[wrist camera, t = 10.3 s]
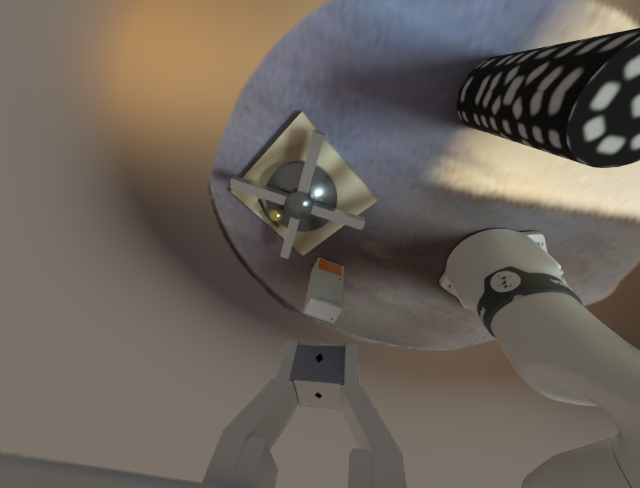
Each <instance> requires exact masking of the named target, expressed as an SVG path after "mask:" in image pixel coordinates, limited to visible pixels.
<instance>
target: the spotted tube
mask: <svg viewBox="0 0 640 488" xmlns="http://www.w3.org/2000/svg"><path fill="white" fill-rule="evenodd" d="M457 111H458V114H459V117H460V119H461V120H462V121H463V122H464V124H466V125H467V126H469V127H471V128H474V129H478V130H481V131H484V132H487V133H490V134H493V135H496V136H499V137H502V138H505V139H508V140H511V141H514V142H517V143H521V144H524V145H527V146H530V147H533V148H536V149H539V150H542V151H545V152H548V153H551V154H554V155H557V156H561V157H564V158H567V159H570V160H573V161H576V162H579V163H582V164H585V165H588V166H592V167H598V168H610V167H619V166H623V165H627V164H631V163H634V162H637V161H639V160H640V28H637V29H632V30H627V31H622V32H617V33H612V34H607V35H602V36H597V37H592V38H587V39H582V40H577V41H572V42H567V43H562V44H557V45H552V46H547V47H542V48H537V49H532V50H527V51H522V52H517V53H512V54H507V55H502V56H497V57H493V58H491V59H488V60H486V61H485V62H483V63H481V64H480V65H478V66H477V67H476V68H475V69H474V70H473V71H472V72H471V73H470V74H469V75H468V77H467V78H466V79H465V81H464V82H463V84H462V87H461V89H460V91H459V95H458V99H457Z"/></svg>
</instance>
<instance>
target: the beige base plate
mask: <svg viewBox="0 0 640 488" xmlns="http://www.w3.org/2000/svg"><path fill="white" fill-rule="evenodd" d="M314 130H316V131H319V130H318V129H317V127H316V126H315V125H314V124H313V123H312V121H311V120H310V119H309V118H308V117H307V116H306V114H305V113H304V112H303V111H302V112H301V113H300V114H299V115H298V116H297V118H296V119H295V120H294V121H293V122H292V123H291V124H290V125H289V127H288V128H287V129H286V130H285V131H284V132H283V133H282V134H281V135H280V137H279V138H278V139H277V140H276V141H275V142H274V143H273V144H272V146H271V147H270V148H269V149H268V150H267V151H266V152H265V153H264V155H263V156H262V157H261V158H260V159H259V160H258V161H257V162H256V164H255V165H254V166H253V167H252V168H251V169H250V170H249V171H248V172H247V174H246V175H245V176H244V177H243V179H246V180H249V181H252V182H255V183H258V184H261V185H264V186H266V185H267V183H268V180H269V179H270V177H271V176H272V175H273V173H274V172H275V171H276V170H277V169H278V168H279V167H281V166H282V165H284V164H286V163H289V162H292V161H305V160H306V157H307V153H308V149H309V145H310V142H311V138H312V134H313V131H314ZM319 132H320V131H319ZM316 165H318V166H320V167H321V168H323V169H324V170H325V171H326V172H327V173H328V174H329V175H330V176H331V178H332V179H333V181H334V183H335V186H336V189H337V206H336V209H339V210H342V211H345V212H348V213H351V214H354V215H359V214H360V213H361V212H363V211H364V210H365V209H367V208H368V207H370V206H371V205H372V204H374V203H375V202H376V201H377V198H376V197H375V196H374V194H373V193H372V192H371V191H370V190H369V189H368V187H367V186H366V185H365V184H364V183H363V181H362V180H361V179H360V178H359V177H358V176H357V174H356V173H355V172H354V171H353V170H352V169H351V167H350V166H349V165H348V164H347V163H346V161H345V160H344V159H343V158H342V157H341V156H340V154H339V153H338V152H337V151H336V150H335V149H334V147H333V146H332V145H331V144H330V143H329V141H328V140H327V139H326V138H325V137H324V140H323V144H322V147H321V150H320V154H319V157H318V161H317V164H316ZM231 193H233V194H234V195H235V196H236V197H237V198H238V199H239V200H241V201H242V202H243V203H244V204H245V205H246V206H247V207H248V208H250V209H251V210H252V211H253V212H254V213H255V214H256V215H257V216H259V217H260V218H261V219H262V220H263V221H264V222H265V223H267V224H268V225H269V226H270V227H271V228H272V229H273V230H274V231H276V232H277V233H278V234H279V235H280V236H281V237H282V238H283V239H285V235H286V232H287V228H286V227H284V226H283V225H281V224H280V223H279V222H275V221H272V220H271V219H270V217H269V210H268V207H267V205H266V200H265V199H262V198H259V197H256V196H253V195H250V194H247V193H243V192H240V191H237V190H234V189H232V190H231ZM343 226H344V224H341V223H338V222H334V221H331V220H330V221H329V222H328V223H327V224H326V225H324V226H323V227H321V228H319V229H317V230H314V231H309V232H299V231H297V232H296V235H295V239H294V242H293V245H292V246H293V247H294V248H295V249H296V250H297V251H298V252H299V253H300V254H302V255H303V256H304V255H305V254H306V253H308V252H309V251H311V250H312V249H313V248H315V247H316V246H317V245H319V244H320V243H321V242H323V241H324V240H325V239H327V238H328V237H329V236H331V235H332V234H333V233H335V232H336V231H337V230H339V229H340V228H341V227H343Z"/></svg>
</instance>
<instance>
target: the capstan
mask: <svg viewBox="0 0 640 488" xmlns="http://www.w3.org/2000/svg"><path fill="white" fill-rule="evenodd" d="M324 137H325V133H322V132H319V131H316V130H314V131H313V134H312V138H311V142H310V145H309V149H308V153H307V157H306V160H305V161H292V162H289V163H286V164H284V165H282V166H281V167H279V168H278V169H277V170H276V171H275V172H274V173H273V175H272V176H271V177H270V179H269V180H268V183H267V185H266V186H264V185H261V184H258V183H255V182H252V181H249V180H246V179H243V178H240V177H237V176H233V177H232V178H231V182H230V188H231V189H234V190H237V191H240V192H243V193H247V194H250V195H253V196H256V197H259V198H262V199H265V200H266V205H267V207H268V210H269V217H270V219H271V220H272V221H275V222H279V223H280V224H281V225H283V226H284V227H286V228H287V232H286V235H285V239H284V243H283V247H282V250H281V254H280V257H283V258H286V259H288V258H289V255H290V252H291V249H292V245H293V242H294V239H295V235H296V232H297V231H299V232H309V231H314V230H317V229H319V228H321V227H323V226H324V225H326V224H327V223H328V222H329V221H330V220H331V221H334V222H338V223H341V224H344V225H347V226H350V227H353V228H356V229H360V230H362V229H363V227H364V225H365V223H366V220H365V218H363V217H360V216H357V215H354V214H351V213H348V212H345V211H342V210H339V209H336V206H337V189H336V186H335V183H334V181H333V179H332V178H331V176H330V175H329V174H328V173H327V172H326V171H325V170H324V169H323V168H321V167H320V166H318V165H316V164H317V161H318V157H319V154H320V150H321V147H322V144H323V140H324Z"/></svg>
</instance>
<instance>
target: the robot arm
mask: <svg viewBox="0 0 640 488" xmlns="http://www.w3.org/2000/svg"><path fill="white" fill-rule="evenodd" d="M560 268H561V266H560V265H559V264H558V263H557V262H556V261H555V260H554V259H553V258H552V257H551V256H550V255H549V254H548V253H547V249H546V244H545V238H544V236H543V235H542V234H541V233H540V232H538V231H529V232H517V231H513V230H509V229H490V230H486V231H482V232H479V233H476V234H474V235H472V236H470V237H468V238H466V239H465V240H463V241H462V242H461V243H460V244H458V245H457V246H456V247H455V248H454V250H453V251H452V252H451V254H450V255H449V257H448V260H447V263H446V270H445V272H444V274H443V275H442V277H441V278H440V280H439V283H440V285H441V286H442V287H443V288H444V289H446V290H447V291H448V292H450V293H451V294H453V295H454V296H456V297H457V298H458V299H459V300H460V302H461V304H462V305H463V307H464V308H465V309H469V310H470V311H471V312H473V313H475V314H476V315H478V316H479V317H480V318H481V321H482V323H483V325H484V326H485V327H486V329H487V330H488V331H489V333H490V334H491V335H492V336H493V337H495V338H496V339H497V341H498V342H499V344H500V346H501V347H502V349H503V351H504V352H505V354H506V356H507V357H508V359H509V361H510V362H511V364H512V366H513V367H514V369H515V371H516V372H517V374H518V376H519V377H520V378H521V379H522V380H523V381H524V382H525V383H526V384H527V385H528V386H529V387H531V388H532V389H533V390H535V391H536V392H538V393H539V394H541V395H543V396H546V397H548V398H551V399H554V400H557V401H561V402H566V403H572V404H580V405H588V406H598V407H600V408H601V409H602V410H603V411H604V412H605V413H606V414H607V415H608V416H609V417H610V418H611V420H612V421H613V422H614V424H615V425H616V427H617V428H618V430H619V433H618V434H616V435H614V436H613V437H611V438H608V439H605V440H602V441H599V442H596V443H592V444H589V445H586V446H583V447H579V448H577V449H573V450H570V451H567V452H564V453H560V454H557V455H555V456H552V457H551V458H550V459H548V460H547V461H545V462H544V463H542V464H541V465H540V466H538V467H537V468H536V469H535V470H533V471H532V472H531V473H530V474H529V475H527V476H526V477H525V478H524V480H523V482H522V487H521V488H640V351H639V350H637V349H636V348H634V347H633V346H631V345H630V344H628V343H627V342H626V341H624V340H623V339H622V338H620V337H619V336H618V335H617V334H615V333H614V332H613V331H611V330H610V329H609V328H608V327H607V326H605V325H604V324H603V323H602V322H600V321H599V320H598V319H597V318H596V317H595V316H593V315H592V314H591V313H590V312H589V311H588V310H586V308H585V307H583V306H582V302H581V300H580V298H579V297H578V296H577V295H576V294H575V293H574V292H573V290H572V289H571V288H570V287H569V286H567V283H566V281H565V279H564V278H563V277H562V276H561V275H563V271H562V270H561V269H560ZM299 406H307V407H321V408H330V409H337V410H342V413H343V415H344V418H345V420H346V422H347V425H348V427H349V429H350V431H351V434H352V436H353V438H354V441H355V443H356V445H357V447H358V449H355V448H353V449H352V450H351V452H350V453H349V477H348V478H349V479H348V481H349V482H348V488H407V487H406V480H405V472H404V464H403V456H402V452H401V450H400V449H399V447H398V445H397V443H396V442H395V440H394V438H393V437H392V435H391V433H390V432H389V430H388V428H387V427H386V425H385V423H384V422H383V420H382V418H381V416H380V415H379V413H378V411H377V410H376V408H375V406H374V405H373V403H372V401H371V400H370V398H369V396H368V394H367V393H366V391H365V389H364V388H363V387H361V386H359V346H358V344H345V343H344V344H343V343H315V342H301V341H287V342H286V344H285V346H284V350H283V354H282V357H281V361H280V364H279V368H278V371H277V375H276V378H275V379H271V380H270V381H269V383H268V384H267V385H266V386H265V387H264V388H263V389H262V390H261V391H260V392H259V393H258V394H257V395H256V396H255V397H254V398H253V399H252V400H251V401H250V402H249V404H248V405H247V406H246V407H245V408H244V409H243V410H242V411H241V412H240V413H239V414H238V415H237V416H236V417H235V418H234V419H233V420H232V422H230V423H229V425H228V426H227V427H226V428H225V429H224V430H223V431H222V433H221V436H220V438H219V441H218V444H217V446H216V448H215V451H214V453H213V456H212V458H211V461H210V464H209V466H208V468H207V471H206V474H205V476H204V479H203V481H202V483H201V482H194V481H188V480H182V479H175V478H168V477H162V476H156V475H150V474H143V473H137V472H131V471H124V470H118V469H111V468H105V467H98V466H92V465H85V464H79V463H73V462H67V461H60V460H54V459H47V458H41V457H35V456H28V455H22V454H16V453H9V452H2V451H0V488H275V484H276V479H277V473H278V467H277V465H276V463H275V461H274V459H273V457H272V455H271V453H270V450H271V448H272V446H273V445H274V444H275V442H276V441H277V439H278V438H279V437H280V435H281V434H282V432H283V430H284V429H285V428H286V426H287V425H288V423H289V422H290V421H291V419H292V417H293V416H294V415H295V413H296V412H297V410H298V409H299Z"/></svg>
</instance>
